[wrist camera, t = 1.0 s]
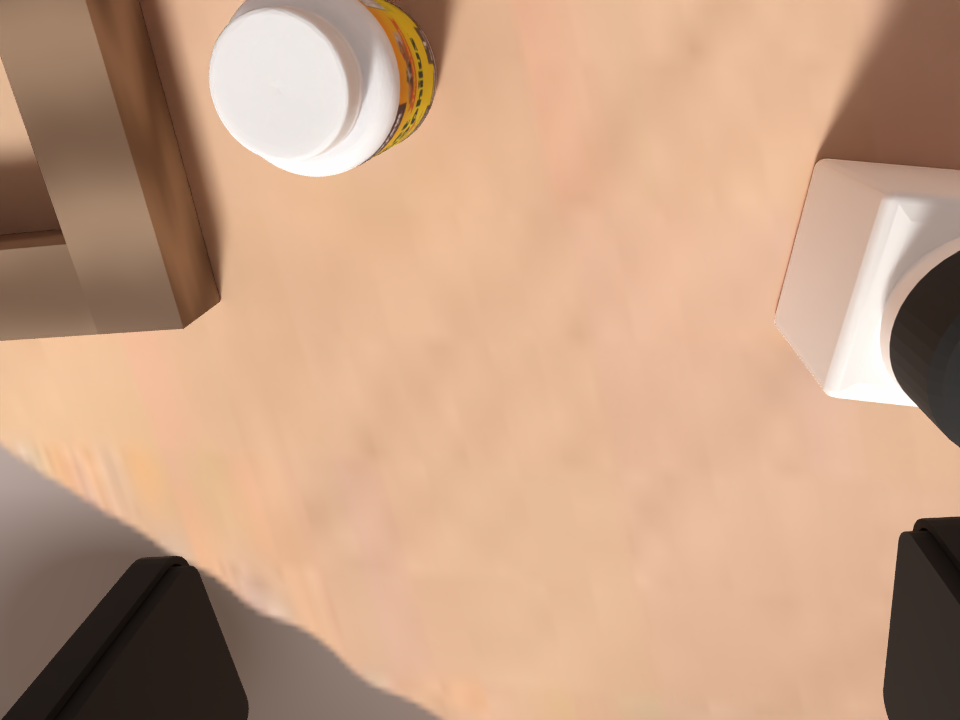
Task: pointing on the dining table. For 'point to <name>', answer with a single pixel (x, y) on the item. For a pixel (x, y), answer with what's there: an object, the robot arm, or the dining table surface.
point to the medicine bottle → (879, 286)
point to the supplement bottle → (321, 81)
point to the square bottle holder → (98, 179)
